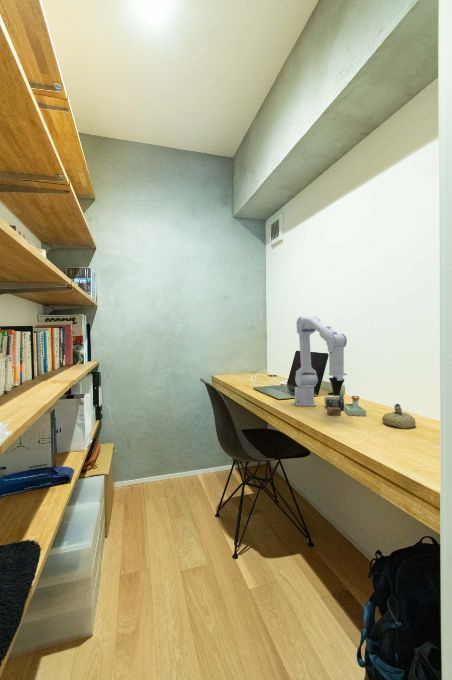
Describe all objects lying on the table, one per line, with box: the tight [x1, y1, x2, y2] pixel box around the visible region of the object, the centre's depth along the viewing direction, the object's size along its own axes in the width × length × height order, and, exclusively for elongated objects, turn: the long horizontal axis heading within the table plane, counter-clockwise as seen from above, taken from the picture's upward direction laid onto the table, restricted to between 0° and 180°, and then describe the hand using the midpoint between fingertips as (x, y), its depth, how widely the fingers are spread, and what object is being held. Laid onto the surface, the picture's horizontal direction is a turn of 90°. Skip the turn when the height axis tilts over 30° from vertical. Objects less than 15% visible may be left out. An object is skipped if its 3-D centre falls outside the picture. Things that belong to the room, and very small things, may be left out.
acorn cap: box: [381, 403, 416, 429], centre depth 120 cm, size 10×11×10 cm
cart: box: [323, 391, 345, 411], centre depth 147 cm, size 8×10×7 cm
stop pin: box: [351, 395, 360, 410], centre depth 137 cm, size 3×3×7 cm
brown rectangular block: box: [326, 406, 342, 417], centre depth 136 cm, size 5×4×3 cm
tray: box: [344, 405, 367, 417], centre depth 137 cm, size 7×7×2 cm
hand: (336, 395), depth 129 cm, fingers closed
